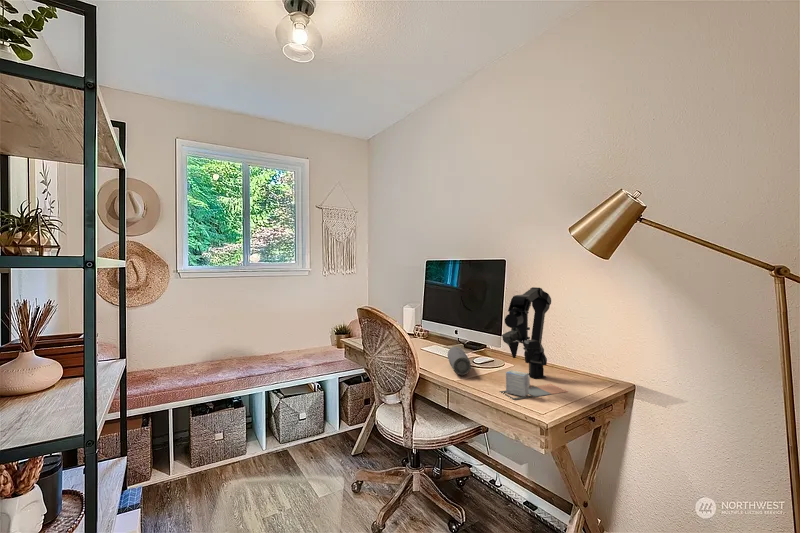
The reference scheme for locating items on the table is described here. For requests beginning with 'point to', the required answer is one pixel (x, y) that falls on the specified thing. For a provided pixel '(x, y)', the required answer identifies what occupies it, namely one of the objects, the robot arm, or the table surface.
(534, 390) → the game mat
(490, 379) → the table surface
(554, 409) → the table surface
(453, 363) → the bluetooth speaker
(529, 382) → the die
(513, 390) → the medicine box
